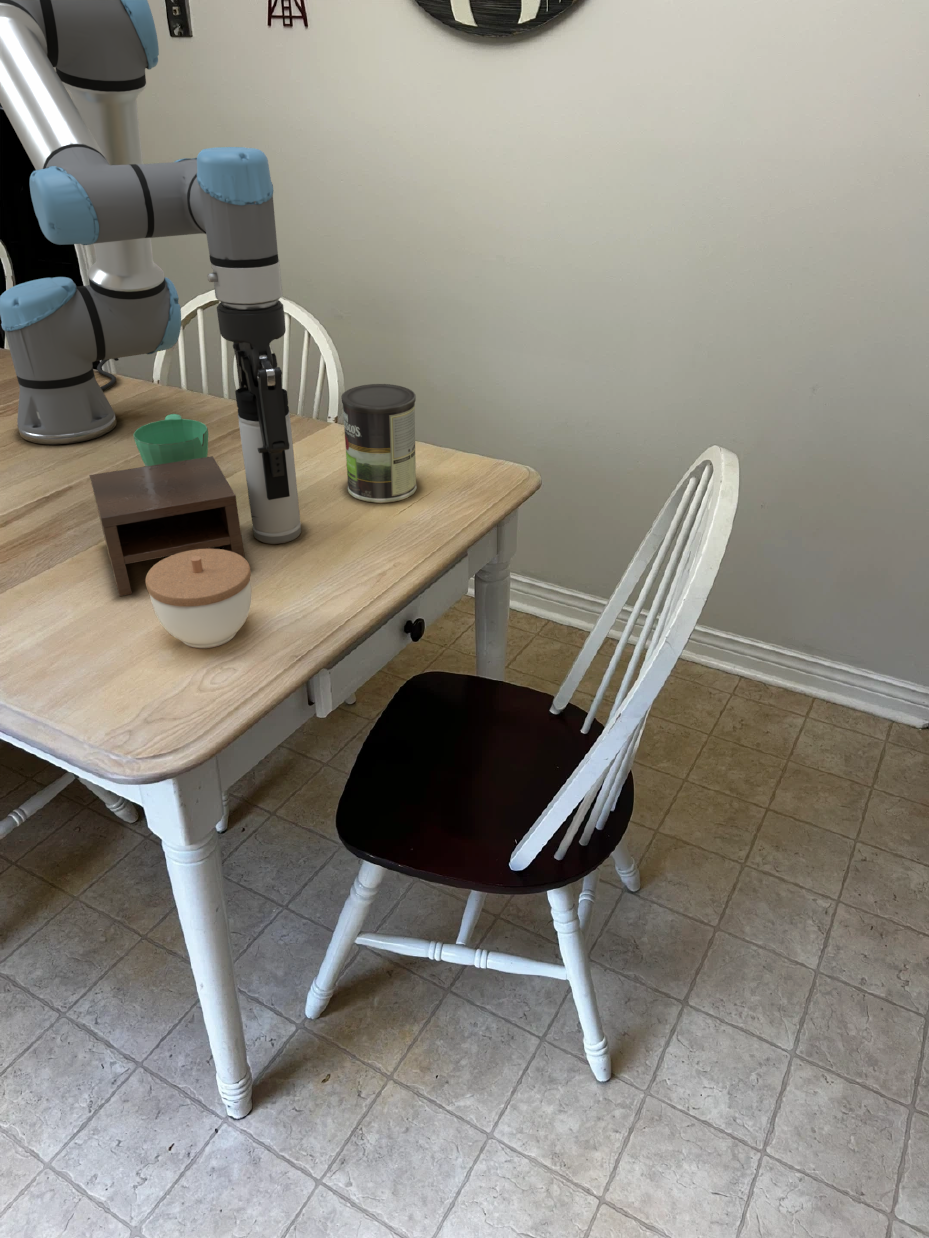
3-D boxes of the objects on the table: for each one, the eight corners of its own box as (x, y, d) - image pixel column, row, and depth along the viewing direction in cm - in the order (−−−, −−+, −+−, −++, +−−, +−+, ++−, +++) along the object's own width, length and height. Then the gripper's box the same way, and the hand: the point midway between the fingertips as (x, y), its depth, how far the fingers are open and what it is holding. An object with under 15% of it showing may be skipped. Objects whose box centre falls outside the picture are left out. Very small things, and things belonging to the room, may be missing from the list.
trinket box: (137, 639, 95) (119, 564, 90) (211, 597, 102) (199, 526, 97) (205, 672, 90) (191, 595, 85) (278, 626, 97) (269, 552, 92)
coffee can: (358, 508, 123) (352, 411, 115) (340, 479, 131) (333, 387, 123) (427, 497, 126) (425, 402, 118) (405, 470, 134) (402, 380, 127)
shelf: (107, 548, 112) (89, 475, 107) (223, 526, 118) (212, 456, 112) (119, 596, 102) (100, 518, 97) (246, 570, 108) (235, 495, 102)
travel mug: (243, 541, 114) (222, 392, 103) (268, 520, 119) (251, 375, 109) (286, 549, 113) (269, 398, 102) (309, 527, 118) (296, 381, 107)
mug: (219, 508, 122) (208, 440, 117) (145, 516, 120) (131, 447, 115) (215, 468, 134) (205, 405, 129) (148, 474, 132) (136, 410, 127)
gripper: (200, 286, 106) (226, 464, 118) (235, 325, 91) (261, 522, 104) (261, 281, 108) (280, 455, 121) (305, 318, 94) (321, 511, 106)
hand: (271, 486), depth 112 cm, fingers closed on travel mug, 6 cm apart
